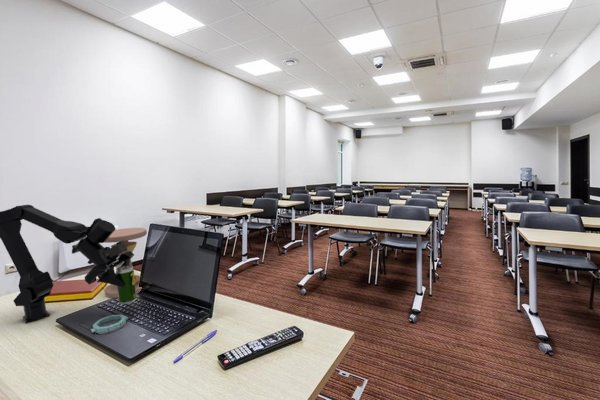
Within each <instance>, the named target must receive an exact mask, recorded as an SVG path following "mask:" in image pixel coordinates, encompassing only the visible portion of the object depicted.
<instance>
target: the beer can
mask: <svg viewBox="0 0 600 400" xmlns="http://www.w3.org/2000/svg"><path fill="white" fill-rule="evenodd" d="M115 274H116V275H117V276H118V277H119V278H120V279H121V280H122V281H123V282H124V283H125V284H126V285H125V286H124V287H120V286H117V289H118V298H117V299H118V302H119V304H121V305H127V304H131V303H134V302H135V301H136V300H137V295H136V287H135V277H134V275H135V270H134V267H133V265H132V266H131V265H126V266H121V267H118V268H115Z"/></svg>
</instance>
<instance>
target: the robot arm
mask: <svg viewBox="0 0 600 400" xmlns="http://www.w3.org/2000/svg"><path fill="white" fill-rule="evenodd" d="M23 220H24V221H25V222H26V221H27V222H28V223H31V224H33V225H36V226H37V227H39V228H42V229H44V230H47V231H49V232H51V233H52V234H53V235H54V237H55V238H56V239H57V240H59V241H60V242H62V243H64V244H67V245H68V244H69V245H70V244H72V243H75V242H77V243H76V244H74V245H72V246H71V247H72V248H71V254H73V255H74V254H77V253H79V252H80V253H81V254H82V255H83V256H84V257H85V258H86V259H87V260H88V261H87V263H88V264H89V265H91V264H93V265H94V266H93V267H92V268H91V269H90V270H89V272H88V273H86V275H85V276H84V281H85V283H87V285H92V284H94V283H95V282H97V284H98V283H103V284H109V285H110V284H112V285H116V286H120V287H124V286H125V285H126V284H125V283H124V282H123V281H122V280H121V279H120V278H119V277H118V276H117V275H116V271H115V269H117V268H118V267H121V266H126V265H129V263H130V260H131V261H132V259H133V257H134V256H135V254H134V253H133V252H131V251H127V250H128V249H127V247H128V244H127V243H126V242H124V241H123V240H122V241H119V242H115V244H116V246H114V247H112V248H111V246H103V243H104V242H105V241H106V240H107V239H108V238H109V236H110V235H111V234H112V233H113V232H114V231H115V230H116V226H115V224H113V223H112V222H109V221H108V220H106V219H105V220H104V219H102V218H101V217H98V218H96V219H94V220H93V221H92V223H91V224H90V225H89V226H86V225H85V224H83V223H80V222H78V221H71V220H64V219H60V218H58V217H57V216H54V215H52V214H49V213H47V212H45V211H43V210H41V209H38V208H37V207H34V206H33V205H32V204H23V205H16V206H14V207H12V208H8V209H5V210H1V211H0V240H1V241H2V244H3V246H4V247H5V250H6V251H7V254H8V255H9V257H10V259H11V261H12V263H13V265H14V267H15V269H16V271H17V272H18V274H19V281H18V289H19V293H18V295H17V296H16V297H15V298H14V299H13V303H14V305H15V306H16V307H23V312H24V315H23V316H22V319H23V321H24V323H25V324H27V323H30V322H34V321H37V320H39V319H40V320H41V319H43V318H46V317H50V315H51V314H50V313H49V311H48V309H47V307H46V300H45V298H46V297H49V296H51V293H52V290H53V287H54V283H53V282H54V280H53V279H52V277H51V275H50V272H49V271H44V272H43V271H42V270H40V269H39V268H38V266H37V264H36V262H35V260H34V258H33V256H32V254H31V252H30V251H29V247H28V246H27V244H26V242H25V240H24V239H23V237H22V234H21V229H22V225H23V223H22V221H23ZM124 251H127V252H125V253H123V252H124ZM121 253H122V254H121ZM119 254H121V255H119ZM135 275H136V274H134V277H135ZM97 278H98V279H97ZM135 279H136V277H135Z"/></svg>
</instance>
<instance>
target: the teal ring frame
mask: <svg viewBox="0 0 600 400" xmlns="http://www.w3.org/2000/svg"><path fill="white" fill-rule="evenodd" d="M127 320H129V317H128V316H127V315H124V314H111V315H108V316H105V317H102V318H100V319H98V320H96V322H95V323H94V324H92V328H90V331H91V333H94V332H96V333H107V332H111V333H113V331H114V332H116V330H117V331H119V330H120V329H122V328H124V327H125V326H124V325H126V324H127ZM96 333H94V334H96ZM107 334H108V333H107Z"/></svg>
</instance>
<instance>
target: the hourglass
mask: <svg viewBox="0 0 600 400" xmlns="http://www.w3.org/2000/svg"><path fill="white" fill-rule="evenodd" d="M147 234H148V231H147V229H146V228H144V227H128V228H119V229H115V231H114V232H113V233H112V234H111V235H110V236H109V238H108V239H107V240H106V241H105V242H104V243H108V244H109V243H114V244H112V245H110V248H112V247H114V246H116V243H117V242H119V241H122V240H123V241H124V242H126V243H127V244H128V247H127V249H128V250H127V251H131V252H132V253H133V252H134V250H135V248H136V247H137V244H138V242H137V241H134V240H137V239H140V238H143V237H145V236H147ZM132 240H133V241H132ZM127 251H124V252H123V253H125V252H127ZM121 254H122V253H121ZM121 254H119V255H121ZM129 265H131V266H133V263H132V259H131V260H130V263H129ZM134 275H135V277H136V279H135V287H136V294H137V293H139V292H140V291H141V289H142V287H139V280H140V277H141V276H140V275H137V274H134ZM104 295H105V297H107V298H108V299H117V298H116V297H118V289H117V286H116V285H112V284H109V285H108V286H106V287H105V288H104ZM137 295H138V294H137Z"/></svg>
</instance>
